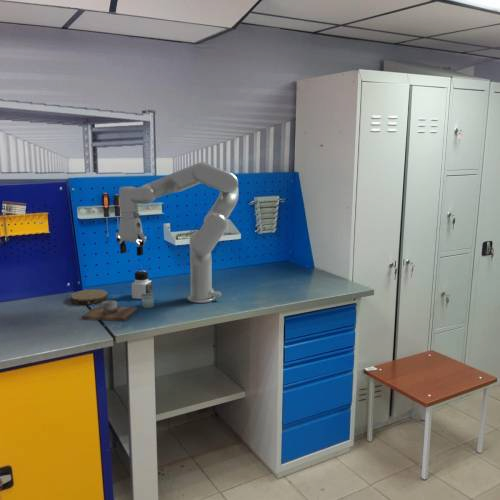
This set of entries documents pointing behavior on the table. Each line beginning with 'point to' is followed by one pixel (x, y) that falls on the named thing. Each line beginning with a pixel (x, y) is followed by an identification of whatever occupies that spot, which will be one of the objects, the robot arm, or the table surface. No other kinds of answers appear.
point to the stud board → (115, 316)
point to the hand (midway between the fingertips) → (131, 254)
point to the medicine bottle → (141, 284)
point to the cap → (147, 300)
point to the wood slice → (89, 297)
